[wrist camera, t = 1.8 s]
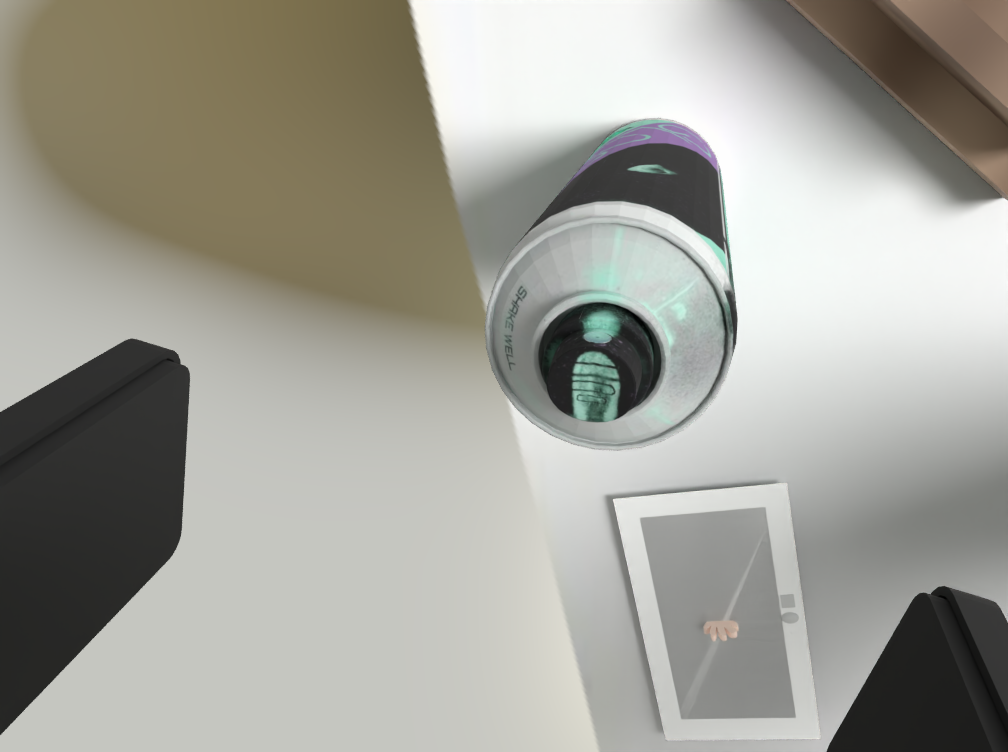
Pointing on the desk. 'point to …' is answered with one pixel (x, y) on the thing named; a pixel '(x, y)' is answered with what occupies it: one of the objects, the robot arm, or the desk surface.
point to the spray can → (620, 295)
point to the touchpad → (722, 612)
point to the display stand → (933, 67)
